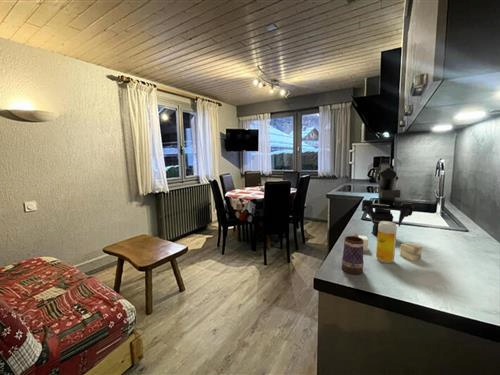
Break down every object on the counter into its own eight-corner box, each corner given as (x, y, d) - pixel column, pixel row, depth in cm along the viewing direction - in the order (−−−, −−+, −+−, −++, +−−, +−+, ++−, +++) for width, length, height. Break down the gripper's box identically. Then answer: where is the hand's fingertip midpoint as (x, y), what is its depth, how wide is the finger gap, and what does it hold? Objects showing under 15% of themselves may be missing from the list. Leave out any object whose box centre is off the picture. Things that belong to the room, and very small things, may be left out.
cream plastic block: (365, 246, 104) (366, 236, 104) (367, 250, 99) (368, 239, 99) (353, 245, 106) (353, 234, 105) (354, 249, 101) (355, 238, 100)
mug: (361, 277, 77) (363, 242, 76) (339, 271, 81) (341, 238, 80) (365, 265, 86) (367, 234, 84) (345, 260, 90) (347, 230, 88)
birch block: (408, 254, 96) (409, 242, 96) (420, 259, 91) (422, 247, 91) (399, 255, 95) (400, 244, 94) (411, 260, 90) (412, 248, 89)
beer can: (376, 255, 94) (378, 219, 92) (393, 258, 91) (396, 222, 89) (375, 261, 89) (378, 223, 87) (393, 264, 86) (397, 226, 84)
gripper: (363, 181, 101) (361, 211, 92) (415, 183, 93) (418, 216, 84) (362, 196, 109) (360, 225, 100) (410, 199, 101) (412, 231, 92)
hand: (386, 224), depth 94 cm, fingers open, 9 cm apart
